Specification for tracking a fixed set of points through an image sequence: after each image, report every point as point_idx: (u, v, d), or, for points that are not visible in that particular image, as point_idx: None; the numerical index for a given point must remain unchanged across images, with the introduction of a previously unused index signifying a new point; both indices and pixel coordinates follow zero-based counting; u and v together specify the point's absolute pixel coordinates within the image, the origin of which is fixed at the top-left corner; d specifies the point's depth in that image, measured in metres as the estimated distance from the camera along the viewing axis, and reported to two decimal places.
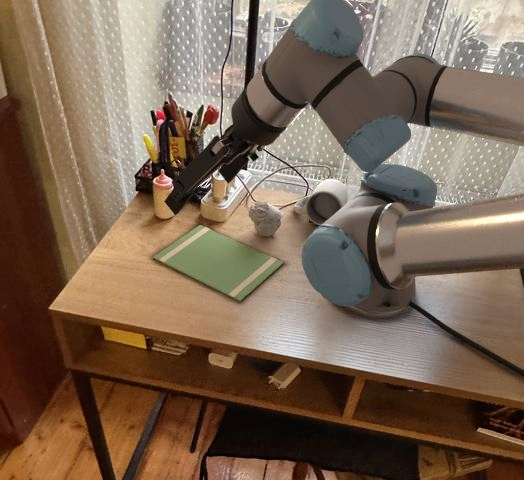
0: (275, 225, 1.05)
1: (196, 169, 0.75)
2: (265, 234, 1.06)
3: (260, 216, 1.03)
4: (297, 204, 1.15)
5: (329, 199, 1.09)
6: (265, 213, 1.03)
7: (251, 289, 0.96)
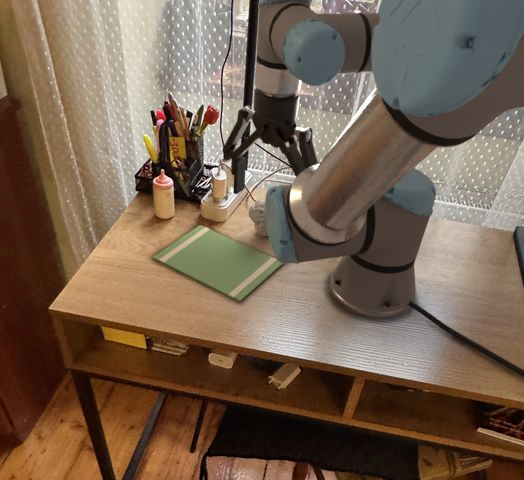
0: None
1: None
2: (265, 234, 1.06)
3: (260, 216, 1.03)
4: None
5: None
6: (265, 213, 1.03)
7: (251, 289, 0.96)
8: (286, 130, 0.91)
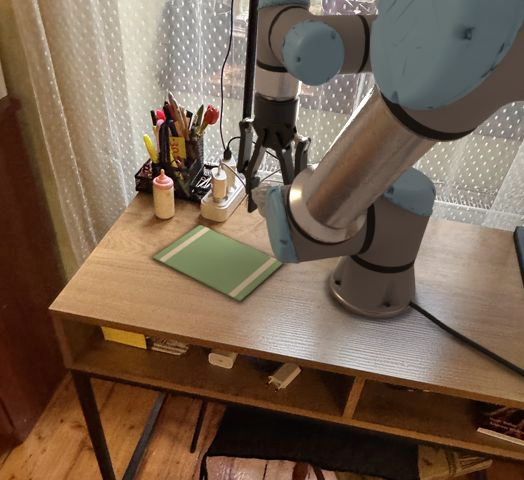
0: None
1: None
2: None
3: (264, 198, 1.00)
4: None
5: None
6: None
7: (251, 289, 0.96)
8: (287, 134, 0.91)
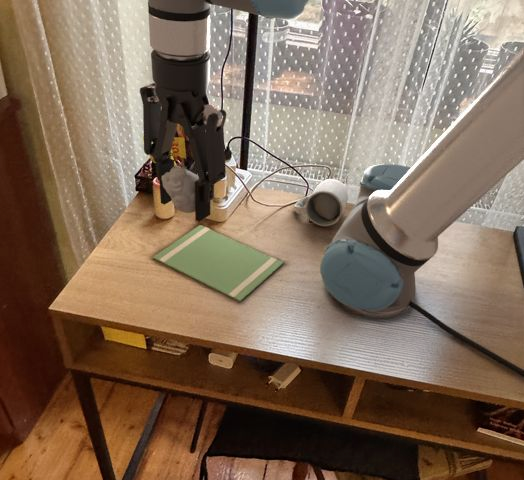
0: None
1: None
2: (184, 210, 0.83)
3: (175, 186, 0.80)
4: (297, 204, 1.15)
5: (329, 199, 1.09)
6: (182, 181, 0.80)
7: (251, 289, 0.96)
8: (194, 105, 0.71)
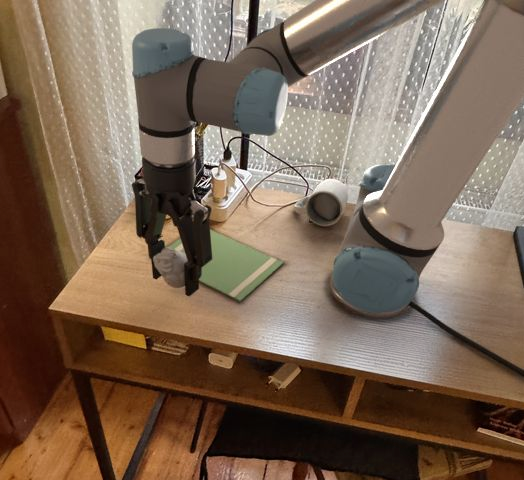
0: None
1: None
2: (175, 286, 0.91)
3: (166, 267, 0.88)
4: (297, 204, 1.15)
5: (329, 199, 1.09)
6: (172, 263, 0.87)
7: (251, 289, 0.96)
8: (182, 202, 0.79)
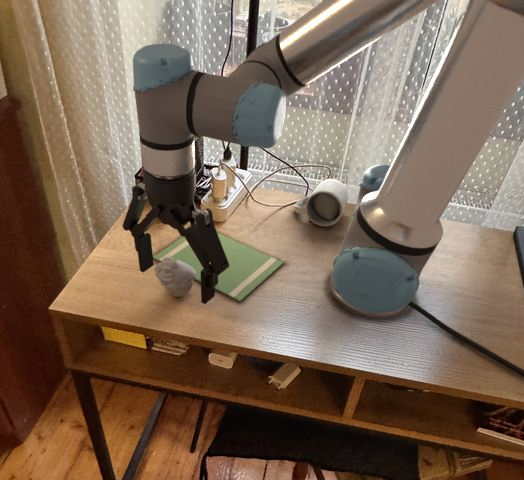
0: (185, 286, 0.90)
1: None
2: (175, 295, 0.92)
3: (167, 276, 0.89)
4: (297, 204, 1.15)
5: (329, 199, 1.09)
6: (172, 272, 0.89)
7: (251, 289, 0.96)
8: (182, 212, 0.80)
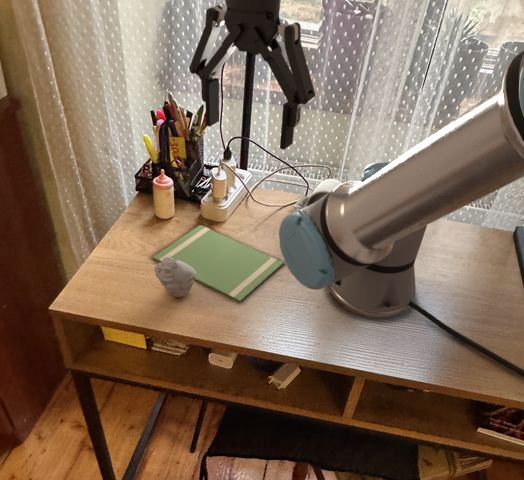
0: (185, 286, 0.90)
1: None
2: (175, 295, 0.92)
3: (167, 276, 0.89)
4: (297, 204, 1.15)
5: None
6: (172, 272, 0.89)
7: (251, 289, 0.96)
8: (268, 27, 0.72)
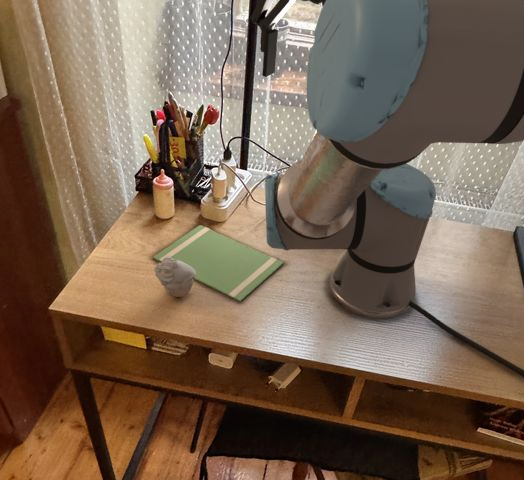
0: (185, 286, 0.90)
1: None
2: (175, 295, 0.92)
3: (167, 276, 0.89)
4: None
5: None
6: (172, 272, 0.89)
7: (251, 289, 0.96)
8: None
